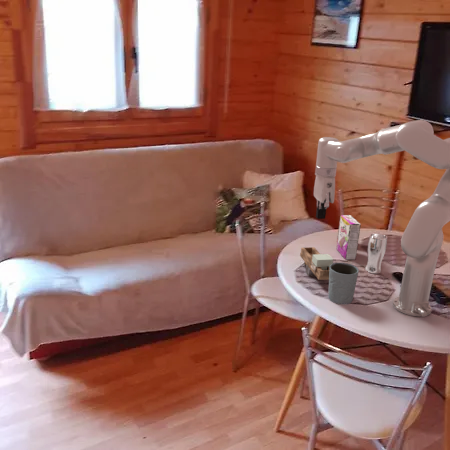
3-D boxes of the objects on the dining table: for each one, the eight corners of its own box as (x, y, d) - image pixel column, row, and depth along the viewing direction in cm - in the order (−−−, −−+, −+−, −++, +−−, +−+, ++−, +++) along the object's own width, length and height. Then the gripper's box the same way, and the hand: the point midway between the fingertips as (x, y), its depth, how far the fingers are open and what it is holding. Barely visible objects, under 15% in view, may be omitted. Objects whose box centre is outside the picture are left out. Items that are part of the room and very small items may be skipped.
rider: (331, 271, 187) (333, 259, 186) (315, 272, 186) (317, 260, 184) (327, 265, 192) (328, 254, 190) (311, 266, 191) (312, 254, 189)
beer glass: (382, 275, 197) (388, 240, 192) (364, 272, 199) (370, 238, 193) (381, 267, 204) (386, 234, 199) (363, 265, 205) (369, 232, 200)
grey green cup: (339, 308, 171) (344, 276, 167) (319, 295, 179) (323, 265, 175) (360, 301, 176) (365, 270, 172) (340, 289, 184) (344, 259, 180)
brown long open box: (334, 286, 186) (336, 270, 184) (316, 287, 185) (318, 271, 183) (314, 261, 206) (315, 247, 204) (298, 262, 205) (299, 247, 203)
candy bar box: (335, 249, 220) (340, 214, 214) (346, 249, 221) (351, 214, 215) (345, 260, 209) (350, 223, 204) (356, 260, 210) (361, 223, 204)
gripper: (343, 176, 177) (337, 224, 183) (327, 166, 191) (322, 211, 197) (323, 176, 176) (317, 225, 182) (309, 166, 189) (304, 212, 196)
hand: (320, 218), depth 190 cm, fingers closed
